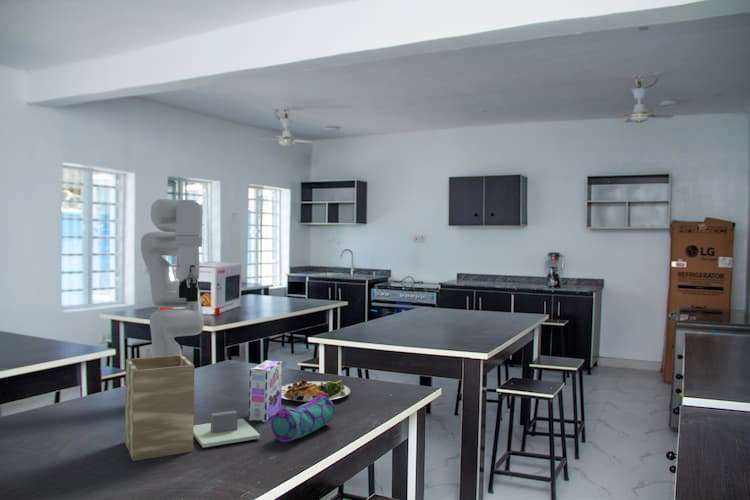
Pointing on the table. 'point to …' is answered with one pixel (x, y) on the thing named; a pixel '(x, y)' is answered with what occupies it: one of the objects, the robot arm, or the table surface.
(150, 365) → the crate
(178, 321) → the robot arm
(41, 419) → the table surface
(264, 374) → the candy box
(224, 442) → the lid
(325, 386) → the plate of food
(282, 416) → the pencil case
